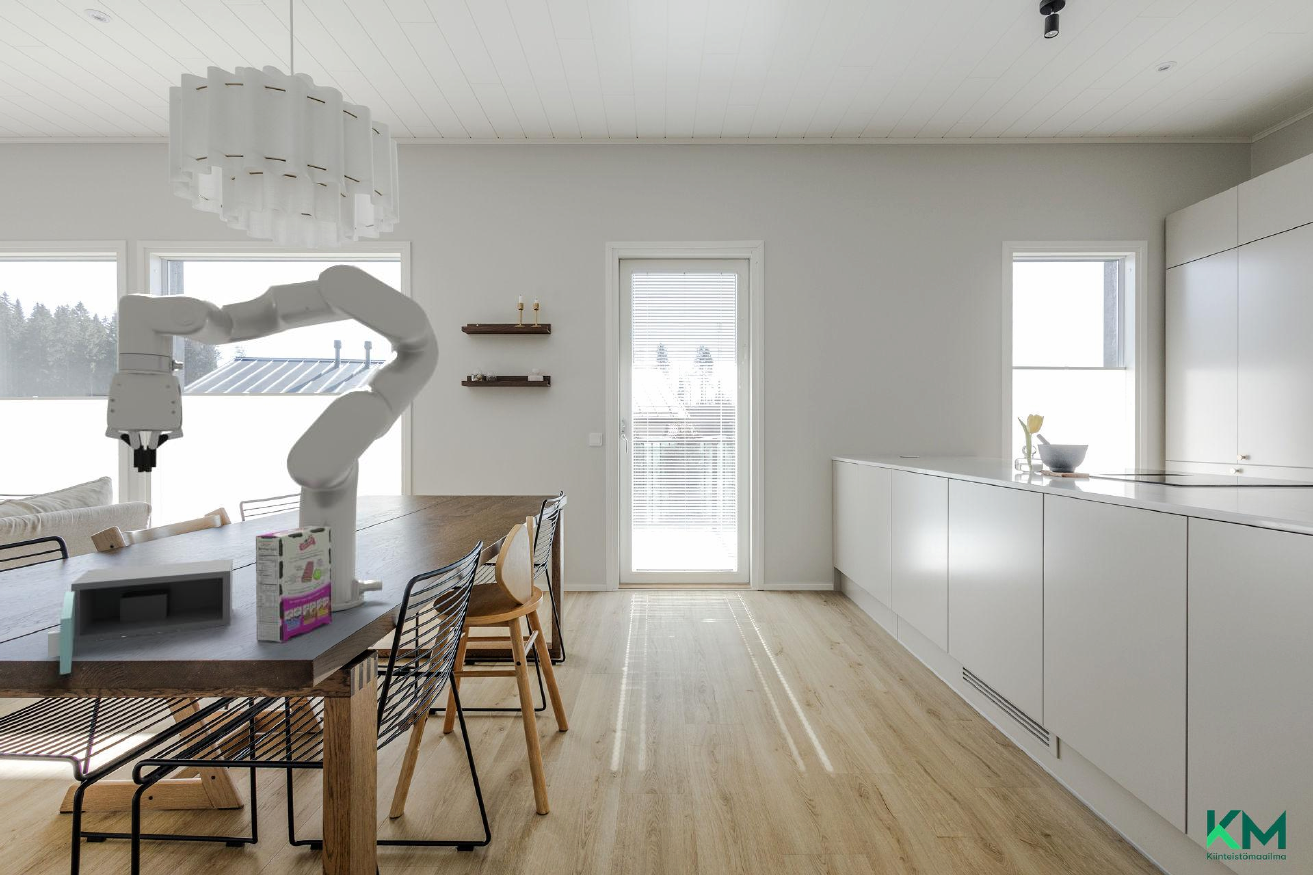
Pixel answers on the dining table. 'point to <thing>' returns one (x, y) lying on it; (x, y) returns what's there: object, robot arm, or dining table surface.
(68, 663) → the side door
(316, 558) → the candy bar box
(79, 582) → the case
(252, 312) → the robot arm
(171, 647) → the dining table surface
